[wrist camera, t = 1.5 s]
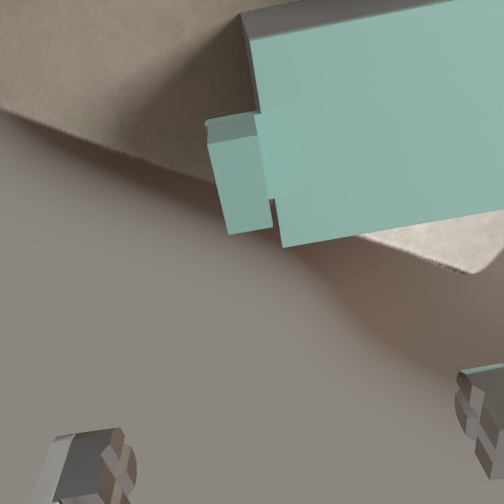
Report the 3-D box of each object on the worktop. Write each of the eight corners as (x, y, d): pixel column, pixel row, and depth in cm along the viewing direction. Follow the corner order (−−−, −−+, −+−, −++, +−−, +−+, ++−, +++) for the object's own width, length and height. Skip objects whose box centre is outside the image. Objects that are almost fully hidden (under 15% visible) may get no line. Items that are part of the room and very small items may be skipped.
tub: (239, 13, 33) (248, 38, 22) (424, -25, 33) (536, -19, 21) (264, 160, 40) (281, 241, 28) (418, 131, 39) (500, 202, 28)
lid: (189, 50, 22) (183, 65, 18) (536, -19, 21) (595, -16, 18) (235, 249, 28) (237, 286, 25) (500, 202, 28) (539, 235, 24)
